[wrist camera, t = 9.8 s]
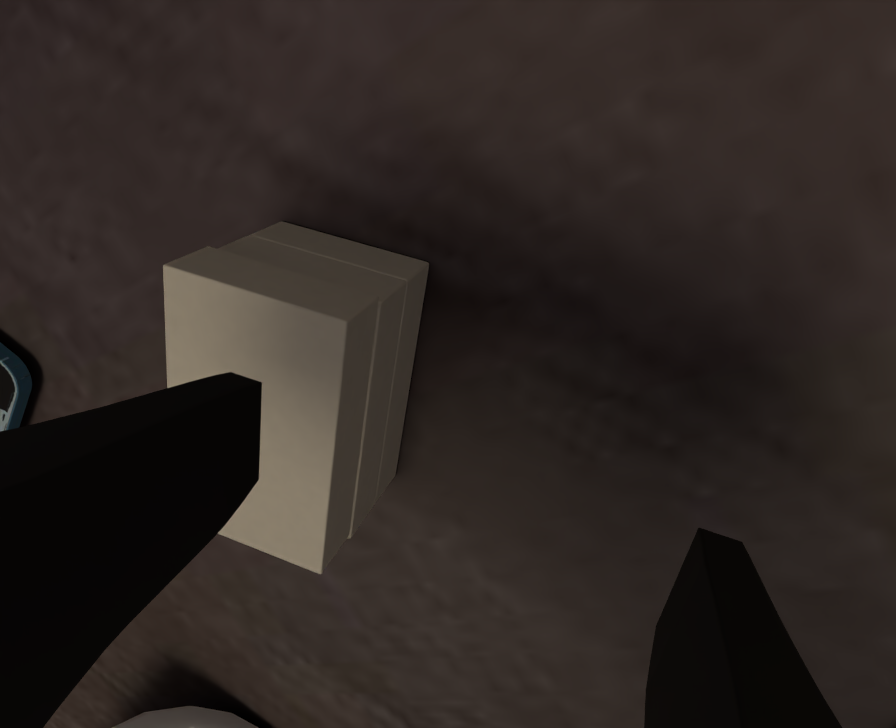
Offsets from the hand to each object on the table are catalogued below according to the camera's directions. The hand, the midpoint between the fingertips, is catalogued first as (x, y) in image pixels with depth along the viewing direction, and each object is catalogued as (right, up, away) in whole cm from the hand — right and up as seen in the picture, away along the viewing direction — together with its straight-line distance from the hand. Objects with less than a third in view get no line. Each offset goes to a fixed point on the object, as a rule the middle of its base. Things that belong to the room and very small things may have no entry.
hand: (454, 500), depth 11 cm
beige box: (-5, +1, +9) cm, 10 cm away
